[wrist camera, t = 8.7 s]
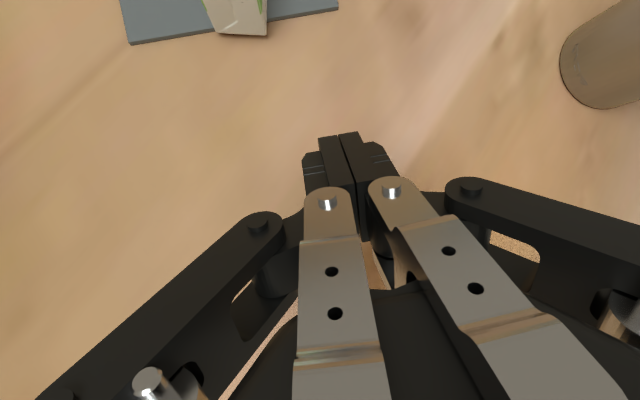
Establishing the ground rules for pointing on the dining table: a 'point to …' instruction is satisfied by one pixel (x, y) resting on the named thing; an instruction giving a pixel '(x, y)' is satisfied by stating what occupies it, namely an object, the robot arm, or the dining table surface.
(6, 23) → the dining table surface
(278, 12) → the mat
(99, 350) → the robot arm
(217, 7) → the ink box
